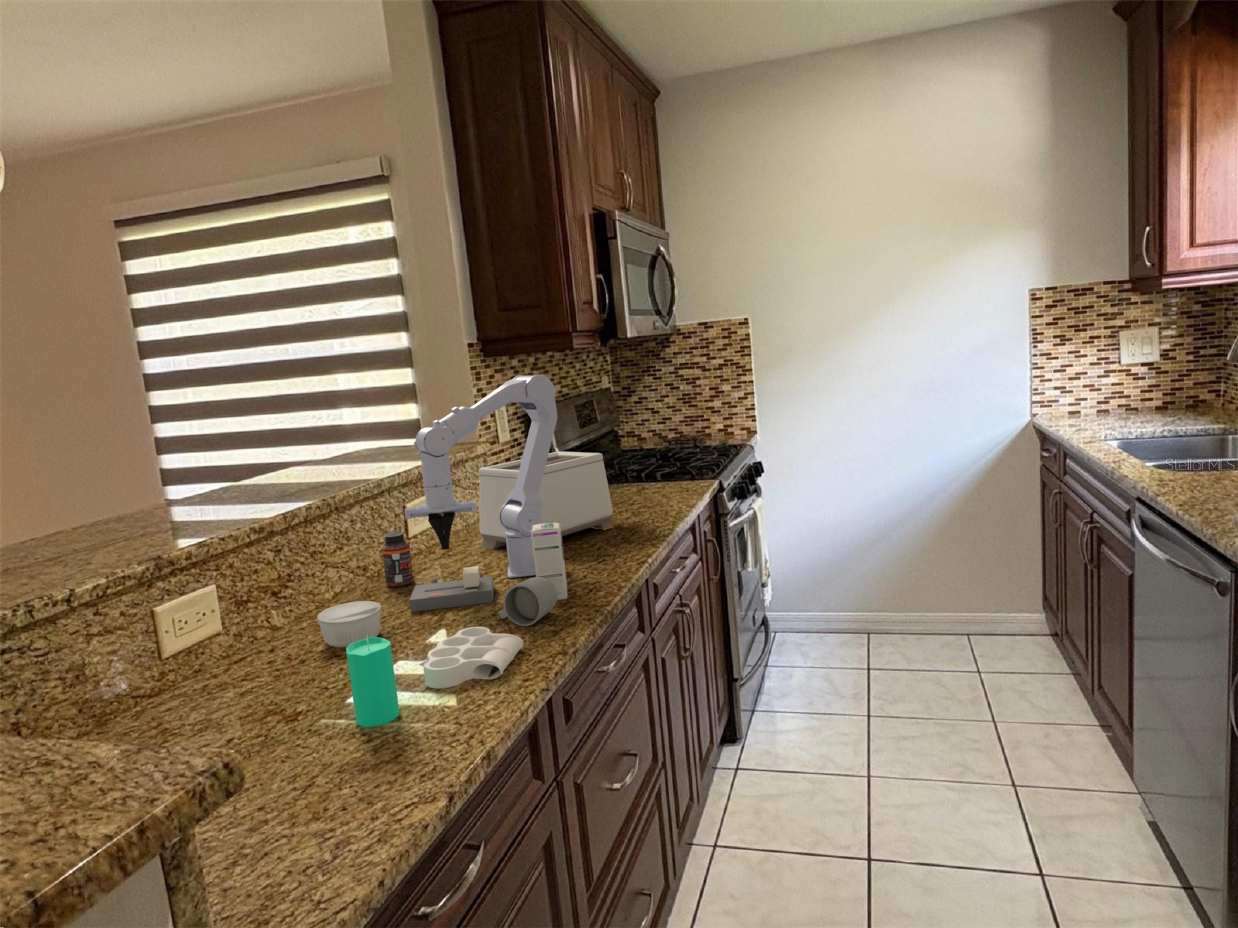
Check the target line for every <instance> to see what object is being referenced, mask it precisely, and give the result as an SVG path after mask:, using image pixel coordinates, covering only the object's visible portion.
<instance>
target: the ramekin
mask: <svg viewBox="0 0 1238 928" xmlns="http://www.w3.org/2000/svg"><path fill="white" fill-rule="evenodd" d="M382 610H383V609H382V605H381V604H380V603H379V602H377V601H372V600H356V601H349V602H345V603H341V604H340V603H339V604H337V605H333V606H331V607H327V608H326V609H324V610H322V611H321V612H320V613H318V615H317V617H316V618H317V619H316V621H317V624H318V625H319V627H320V631H321V634H322V637H323V641H325V643H326V644H328V646H330V647H333V646H334V647H333V648H347V647H348V646H349V645H350V644H351V643H354V642H357V641H360V640H363V639H367V637H366V635H367V636H368V638H370V637H378V635H379V634H380V631H381V613H382Z"/></svg>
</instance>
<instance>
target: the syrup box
mask: <svg viewBox="0 0 1238 928" xmlns="http://www.w3.org/2000/svg"><path fill="white" fill-rule="evenodd" d="M531 538H532V547H533V556H534V564H535V572H536V575H535V577H543V578H546V579H548V580H549V581H550V582H551V583H552V584H553V585H554V587H555V589H556V592H557V601H562V600H567V599H568V593H569V592H568V582H567V574H566V564H565V563H566V562H565V556H564V547H563V538H562V537H561V529H560V523H559V522H553V523H542V524H537V525H533V526H532V529H531Z"/></svg>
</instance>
